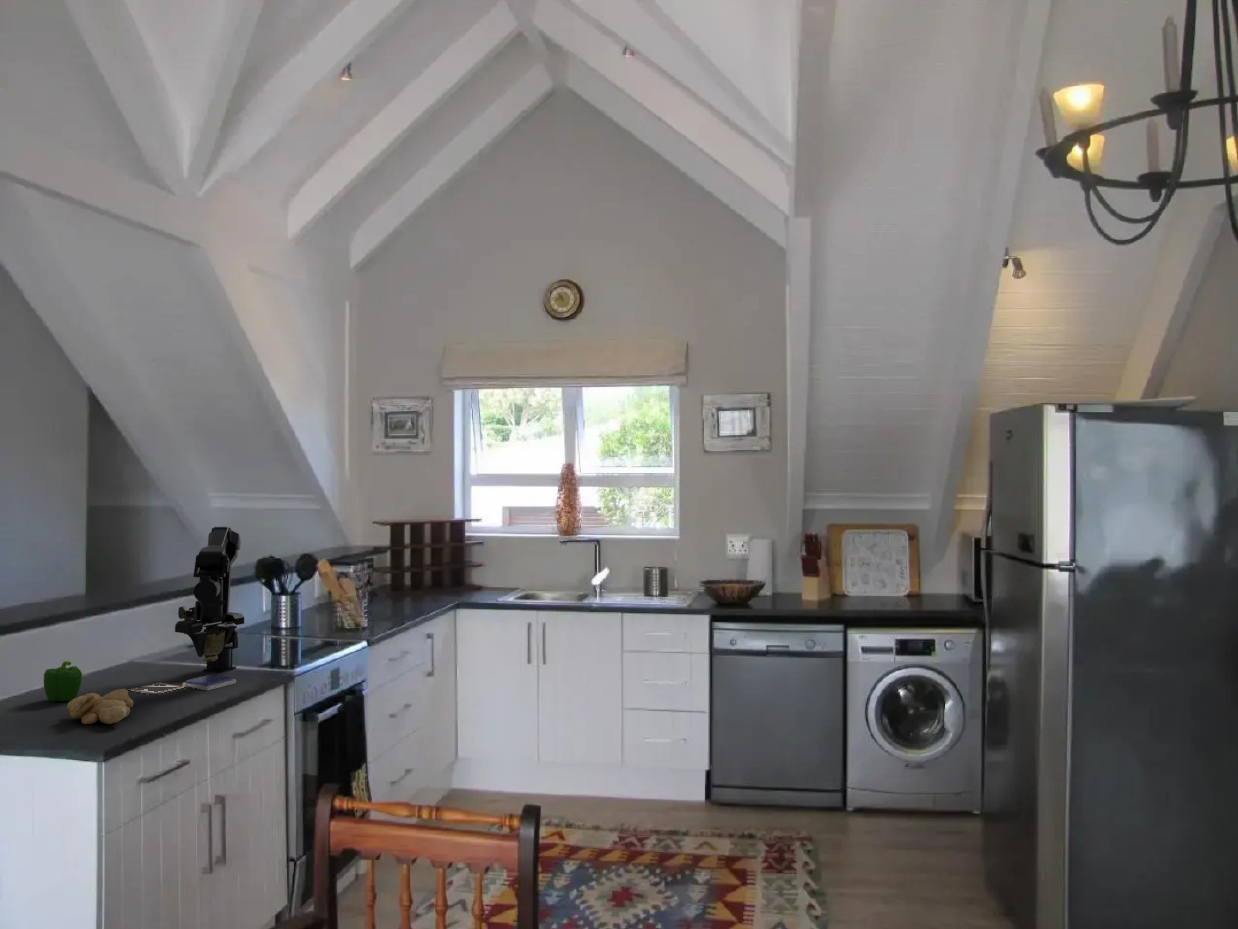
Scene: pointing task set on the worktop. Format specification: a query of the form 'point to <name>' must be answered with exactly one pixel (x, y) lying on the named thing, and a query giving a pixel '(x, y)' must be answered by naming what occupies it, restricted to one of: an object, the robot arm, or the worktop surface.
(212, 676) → the ink pad
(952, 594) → the worktop surface
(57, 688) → the bell pepper
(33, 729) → the worktop surface
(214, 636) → the ornate bronze cup
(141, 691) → the marked card
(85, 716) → the ginger root
